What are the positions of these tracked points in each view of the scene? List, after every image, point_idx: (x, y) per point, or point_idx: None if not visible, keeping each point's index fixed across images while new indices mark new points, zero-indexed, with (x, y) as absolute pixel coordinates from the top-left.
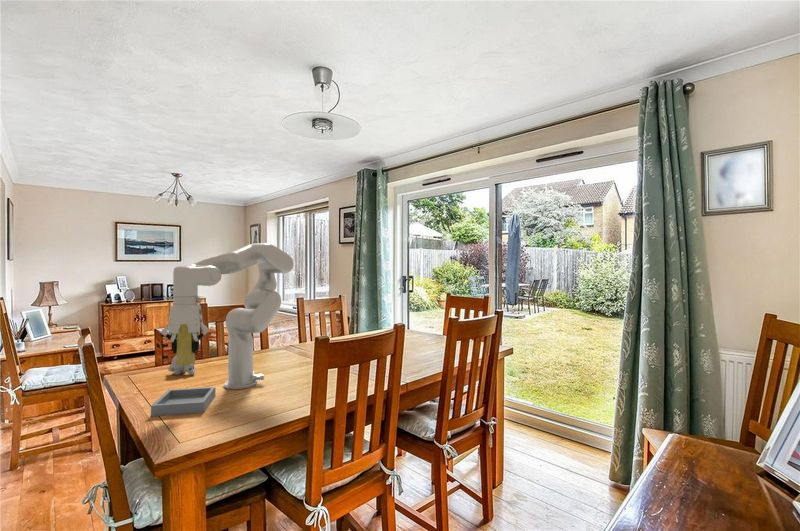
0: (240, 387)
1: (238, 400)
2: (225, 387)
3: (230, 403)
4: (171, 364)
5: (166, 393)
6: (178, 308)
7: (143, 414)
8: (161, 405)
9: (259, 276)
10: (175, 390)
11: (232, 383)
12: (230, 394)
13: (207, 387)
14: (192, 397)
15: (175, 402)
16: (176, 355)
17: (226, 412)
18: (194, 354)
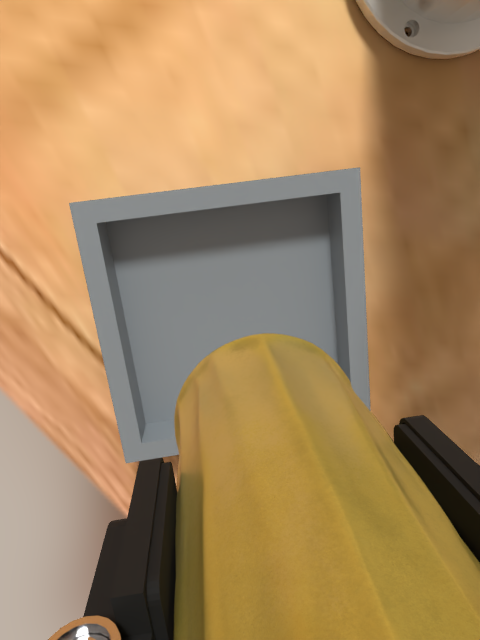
0: (469, 53)
1: (476, 254)
2: (364, 15)
3: (444, 294)
4: None
5: (98, 278)
6: None
7: (82, 411)
8: (174, 453)
9: None
10: (124, 219)
11: (423, 7)
12: (417, 149)
13: (312, 176)
14: (236, 234)
15: (176, 308)
16: (177, 481)
17: (448, 402)
18: (368, 411)
